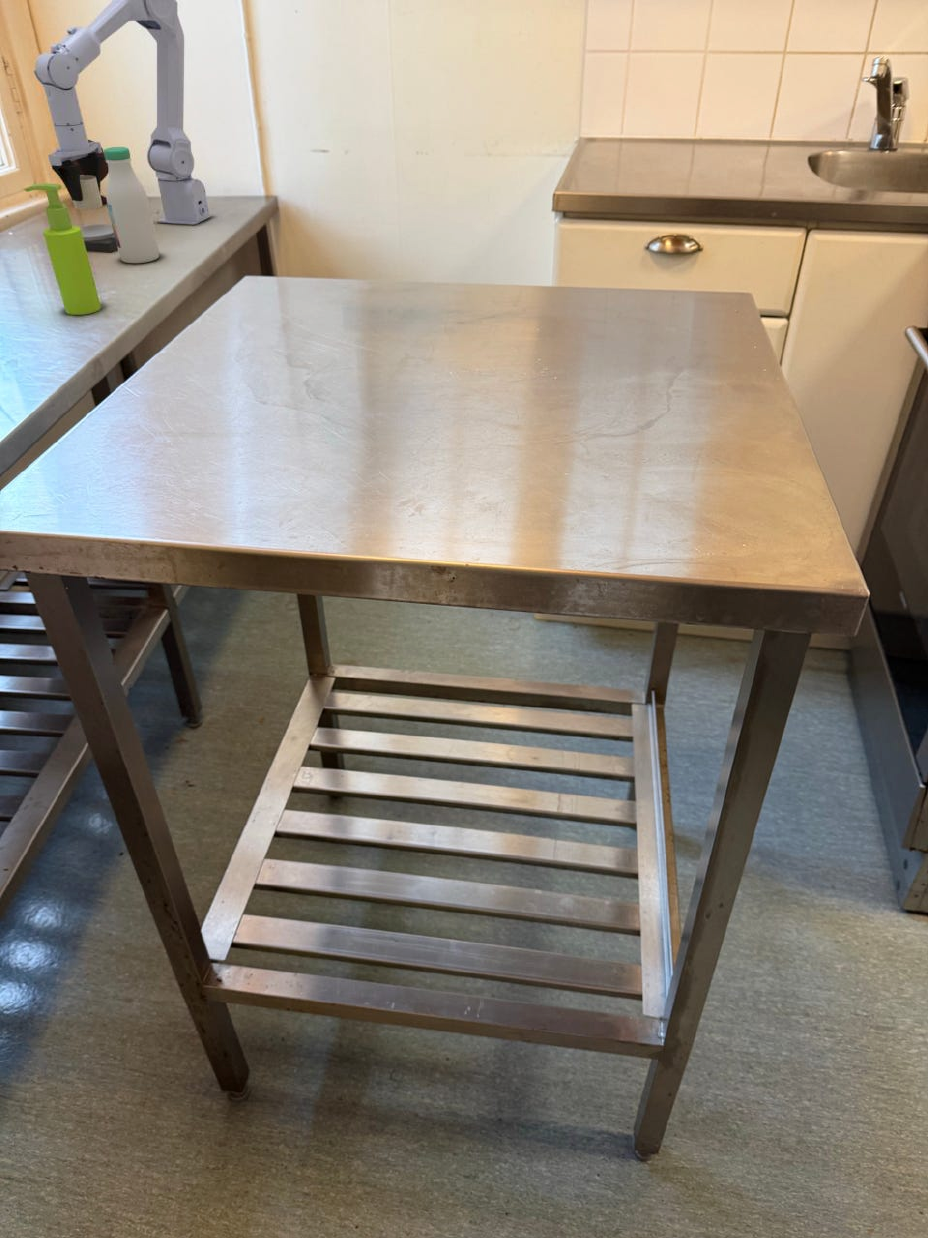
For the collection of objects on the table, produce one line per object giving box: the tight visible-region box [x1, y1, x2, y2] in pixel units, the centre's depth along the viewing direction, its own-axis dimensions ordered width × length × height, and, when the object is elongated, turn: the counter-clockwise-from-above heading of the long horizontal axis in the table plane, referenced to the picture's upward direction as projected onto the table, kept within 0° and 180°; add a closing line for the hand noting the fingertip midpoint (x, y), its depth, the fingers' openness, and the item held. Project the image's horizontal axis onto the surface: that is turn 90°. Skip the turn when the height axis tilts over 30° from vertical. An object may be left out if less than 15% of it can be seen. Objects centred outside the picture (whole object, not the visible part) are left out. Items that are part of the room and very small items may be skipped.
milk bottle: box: [103, 146, 160, 264], centre depth 174 cm, size 8×8×20 cm
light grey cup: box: [72, 175, 103, 211], centre depth 187 cm, size 6×6×6 cm
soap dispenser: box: [24, 182, 102, 316], centre depth 150 cm, size 6×7×20 cm
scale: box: [79, 224, 118, 254], centre depth 189 cm, size 13×11×3 cm
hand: (86, 197), depth 187 cm, fingers closed on light grey cup, 5 cm apart
